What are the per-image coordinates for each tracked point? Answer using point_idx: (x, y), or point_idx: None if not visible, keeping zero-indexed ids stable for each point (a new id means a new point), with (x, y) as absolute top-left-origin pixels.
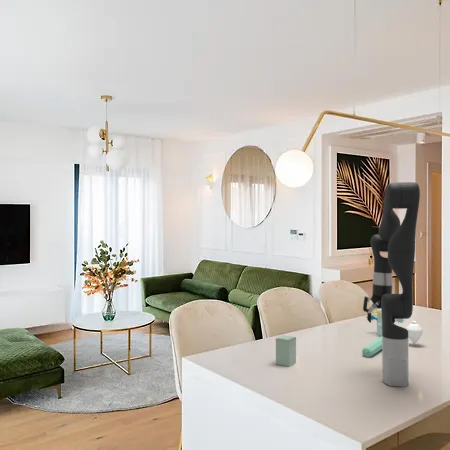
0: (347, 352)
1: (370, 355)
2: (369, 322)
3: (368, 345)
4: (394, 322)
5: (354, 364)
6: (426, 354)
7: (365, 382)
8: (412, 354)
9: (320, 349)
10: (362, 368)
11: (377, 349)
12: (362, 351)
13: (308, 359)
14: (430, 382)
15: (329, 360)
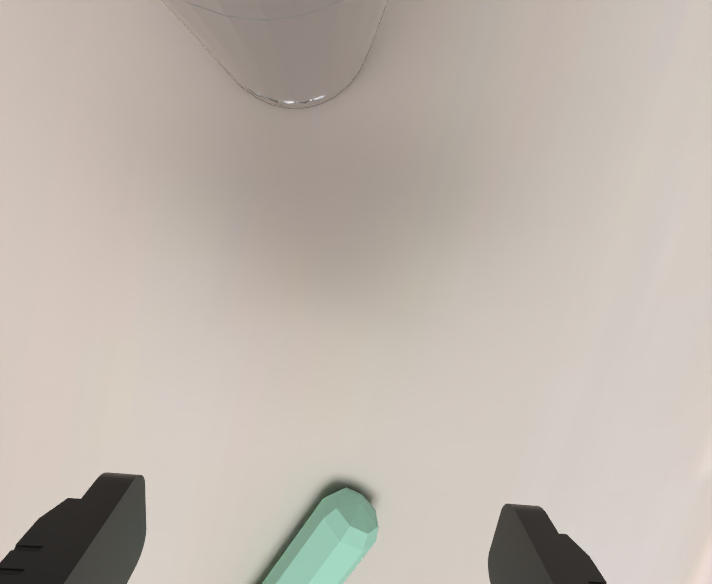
0: (433, 552)
1: (335, 492)
2: (528, 507)
3: (336, 574)
4: (56, 507)
5: (451, 364)
6: None
7: (482, 20)
8: None
9: None
10: (426, 297)
11: (280, 568)
12: (376, 521)
13: (665, 424)
14: (50, 34)
15: (564, 419)
